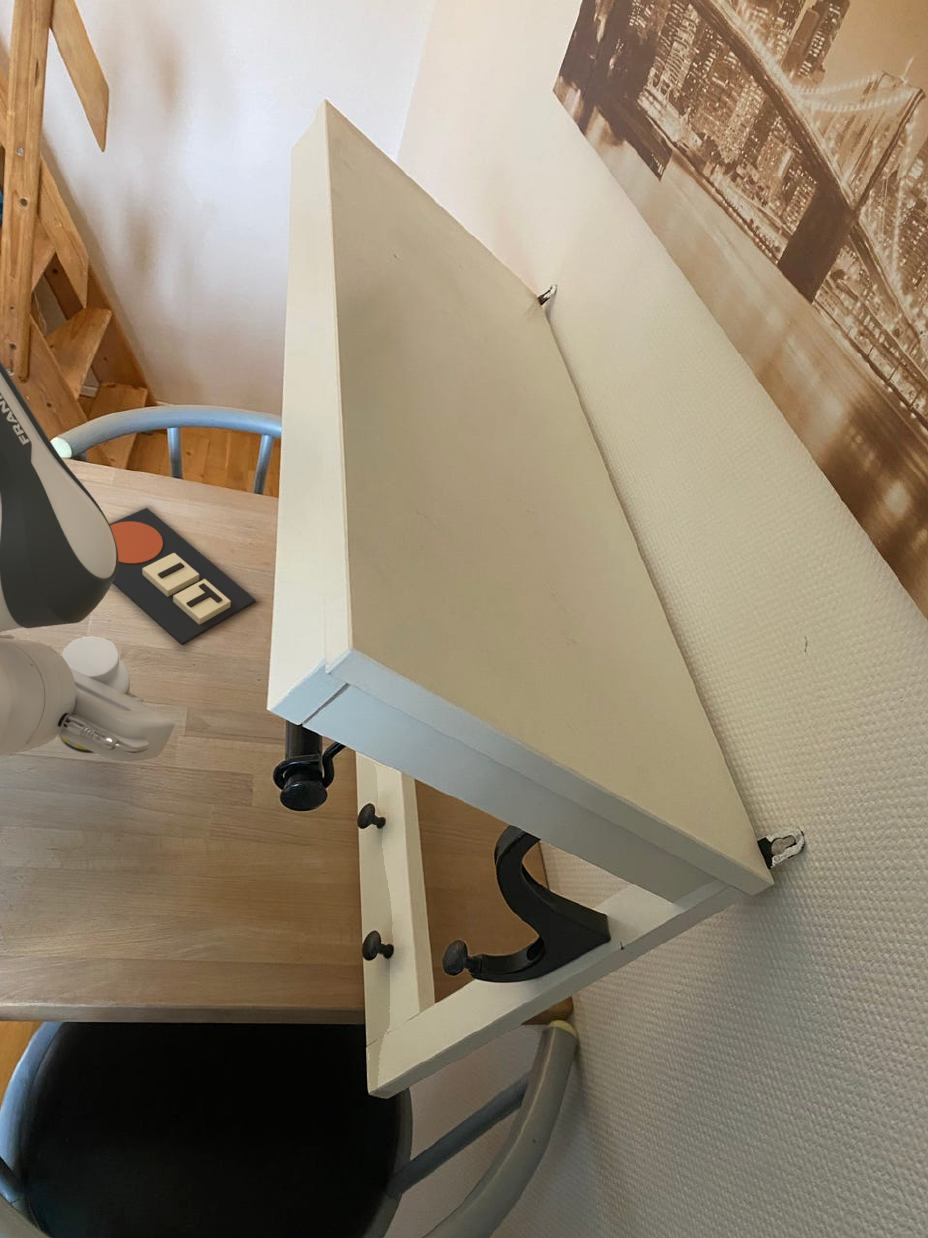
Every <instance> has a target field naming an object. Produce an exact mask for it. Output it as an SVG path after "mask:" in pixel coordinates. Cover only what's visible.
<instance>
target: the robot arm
mask: <svg viewBox="0 0 928 1238" xmlns="http://www.w3.org/2000/svg"><path fill="white" fill-rule="evenodd" d="M109 524H110V522H109V520H108V518H107V517H106V515H105V513H104V511H103V510H102V508H101V507H100V505H99V503H98V502H97V501H96V500H95V498H94V497H93V495H92V494H91V493H90V492H89V490H88V489H87V488H86V487H85V485H84V484H83V483H82V482H81V481H80V480H79V479H78V477H77V476H76V475H75V473H73V471H72V470H71V469H70V467H68V465H67V463H66V462H65V461H64V460H63V458H62V456H61V455H60V454H59V453H58V451H57V450H56V448H55V446H54V445H53V443H52V442H51V440H50V439H49V437H48V435H47V433H46V431H45V430H44V429H43V427H42V425H41V424H40V422H39V421H38V419H37V418H36V416H35V413H34V412H33V411H32V409H31V408H30V406H29V405H28V403H27V401H26V399H25V398H24V395H22V393H21V392H20V390H19V388H18V387H17V385H16V382H14V379H13V378H12V377H11V375H10V373H9V372H8V370H7V369H6V367H5V365H4V364H3V362H2V360H0V758H1V757H6V756H9V755H14V754H18V753H23V752H27V751H32V750H34V749H39V748H41V747H43V746H45V745H47V744H49V743H50V742H51V741H53V740H54V739H56V738H57V737H59V735H60V736H62V737H64V738H66V739H68V740H70V741H72V742H74V743H76V744H78V745H80V746H82V747H84V748H86V749H88V750H90V751H92V752H94V753H96V754H95V755H98V756H100V757H104V758H106V759H109V760H113V761H115V762H116V761H117V762H138V761H145V760H150V759H154V758H157V757H159V756H160V755H161V754H162V752H163V751H164V749H165V747H166V745H167V744H168V742H169V739H170V738H171V735H172V733H173V730H174V727H175V722H174V720H173V718H172V716H170V715H168V714H166V713H165V712H162V711H160V710H158V709H156V708H154V707H152V706H150V705H148V704H146V703H144V699H143V698H142V697H139V696H138V695H135V694H133V693H130V692H129V693H121V692H119V691H117V690H115V689H113V688H111V687H109V686H107V685H105V684H103V683H101V682H99V681H97V680H95V679H93V678H90V677H88V676H85V675H83V674H81V673H79V672H77V671H75V670H73V669H71V668H70V667H69V666H68V664H67V662H66V661H65V660H64V658H63V657H62V654H61V653H60V652H58V651H57V650H56V649H54V648H53V647H51V646H50V645H48V644H46V643H44V642H42V641H40V640H36V639H32V638H25V637H24V638H22V637H21V638H20V637H19V638H18V637H16V638H15V635H13V634H8V633H2V632H7V631H11V630H12V631H13V630H16V629H17V630H18V629H21V628H22V629H23V628H24V629H34V628H35V629H36V628H42V627H43V628H44V627H53V626H61V625H71V624H77V623H80V622H82V621H84V620H85V619H86V618H87V617H88V616H89V615H91V613H92V612H93V611H94V610H95V609H96V608H97V607H98V606H99V604H100V603H101V602H102V601H103V599H104V597H105V596H106V595H107V593H108V592H109V590H110V588H111V587H112V585H113V583H112V582H113V580H114V578H115V576H116V574H117V571H118V564H119V558H118V549H117V545H116V541H115V537H114V534H113V532H112V529H111V527H110V525H109Z"/></svg>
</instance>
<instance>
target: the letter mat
mask: <svg viewBox="0 0 928 1238" xmlns="http://www.w3.org/2000/svg"><path fill="white" fill-rule="evenodd" d="M109 525H110V527H111V529H112V532H113V534H114V537H115V541H116V545H117V549H118V558H119V564H118V571H117V574H116V576H115V578H114V580H113V582H112V585H114V586H115V587H116V588H117V589H118V590H120V592H122V593H123V594H124V595H125V596H126V597H127V598H128V599H129V600H131V601H132V602H133V603H134V604H135V605H136V606H137V607H138V608H139V609H140V610H141V611H142V612H143V613H145V614H146V615H147V616H148V617H149V618H151V620H153V621H154V623H156V624H157V625H158V626H159V627H160V628H162V629H163V631H165V632H166V633H167V634H168V635H170V636H171V637H172V638H173V639H174V640H175V641H176V642H177V643H178V644H180V645H181V646H184V645H186V644H187V643H189V642H191V641H192V640H194V639H196V638H198V637H199V636H201V635H203V634H204V633H207V632H208V631H209V630H210V629H213V628H214V627H216V626H218V625H220V624H221V623H223V622H224V621H226V620H229V618H231V617H233V616H235V615H236V614H238V613H240V612H242V611H244V610H245V609H247V608H248V607H250V606H251V605H253V604H255V603H256V601H257V600H256V599H255V598H254V597H253V596H252V595H251V594H249V592H247V591H246V590H245V589H244V588H242V587H241V586H240V585H239V584H237V583H236V582H235V580H233V579H232V578H231V577H229V575H227V573H224V572H223V570H221V568H219V567H218V566H216V564H215V563H213V562H212V561H210V559H208V558H207V557H206V556H204V555H203V554H202V553H201V552H200V551H199V550H198V549H197V548H195V546H193V545H192V544H190V543H189V542H188V541H187V540H186V539H185V538H184V537H182V535H180V534H179V533H178V532H176V531H175V530H174V529H173V528H171V527H170V526H169V525H168V524H167V523H166V522H165V521H163V520H162V519H161V518H159V516H158V515H156V514H155V513H154V512H152V511H151V510H150V509H149V508H148V507H145V508H143V509H141V510H138V511H135V512H133V513H131V514H129V515H127V516H125V517H122V518H120V519H118V520H115V521H113V522H111V523H109Z"/></svg>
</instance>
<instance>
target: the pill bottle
mask: <svg viewBox="0 0 928 1238" xmlns="http://www.w3.org/2000/svg"><path fill="white" fill-rule="evenodd" d="M61 656H62V657H63V658H64V660H65V661H66V662H67V664H68V666H69V667H70V668H71V669H73V670H75V671H77V672H79V673H81V674H83V675H85V676H88V677H90V678H93V679H95V680H97V681H99V682H101V683H103V684H105V685H107V686H109V687H111V688H113V689H115V690H117V691H119V692H121V693H130V683H131V682H130V681H131V680H130V673H129V670H128V668H127V666H126V664H125V663H124V662H123V661H122V660H121V659H120V654H119V650H118V648H117V647H116V645H115V644H114V643H113V642H112V641H110V640H109V639H107V638H105V637H102V636H96V635H95V636H93V635H91V636H82V637H78V638H75V639H73V640H72V641H70V642H69V643H68V644H66V645H65V647H64V649H63V650H62V652H61ZM58 737H59V739H60V740H61V742H62V743H63V745H65V747H67V748H68V749H70V750H72V751H73V752H76V753H79V754H84V755H97V754H96V753H94V752H92V751H90V750H88V749H86V748H84V747H82V746H80V745H78V744H76V743H74V742H72V741H70V740H68V739H66V738H64V737H62V736H60V735H58Z"/></svg>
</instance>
